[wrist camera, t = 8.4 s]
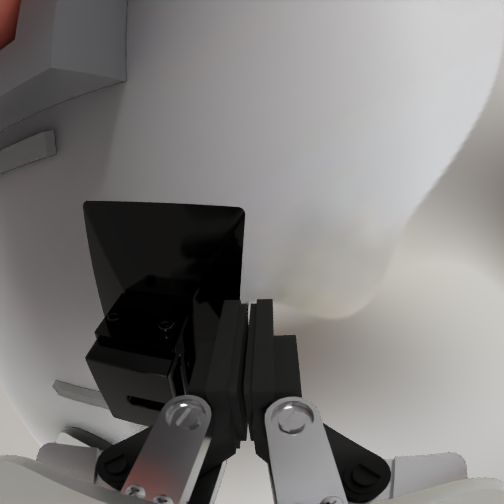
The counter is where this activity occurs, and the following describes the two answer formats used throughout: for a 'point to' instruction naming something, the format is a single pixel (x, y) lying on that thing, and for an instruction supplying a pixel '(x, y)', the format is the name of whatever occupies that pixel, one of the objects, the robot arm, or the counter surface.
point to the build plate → (158, 296)
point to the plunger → (8, 21)
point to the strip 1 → (28, 150)
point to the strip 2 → (80, 394)
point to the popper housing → (61, 54)
